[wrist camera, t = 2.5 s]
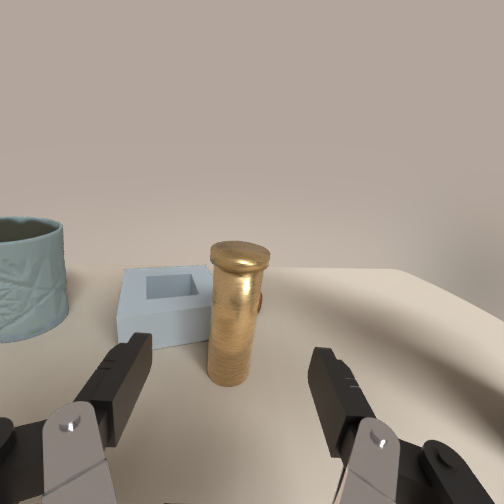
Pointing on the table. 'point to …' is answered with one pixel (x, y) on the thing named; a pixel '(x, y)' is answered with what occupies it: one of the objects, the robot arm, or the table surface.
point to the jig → (166, 305)
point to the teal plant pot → (31, 277)
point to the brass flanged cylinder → (234, 309)
